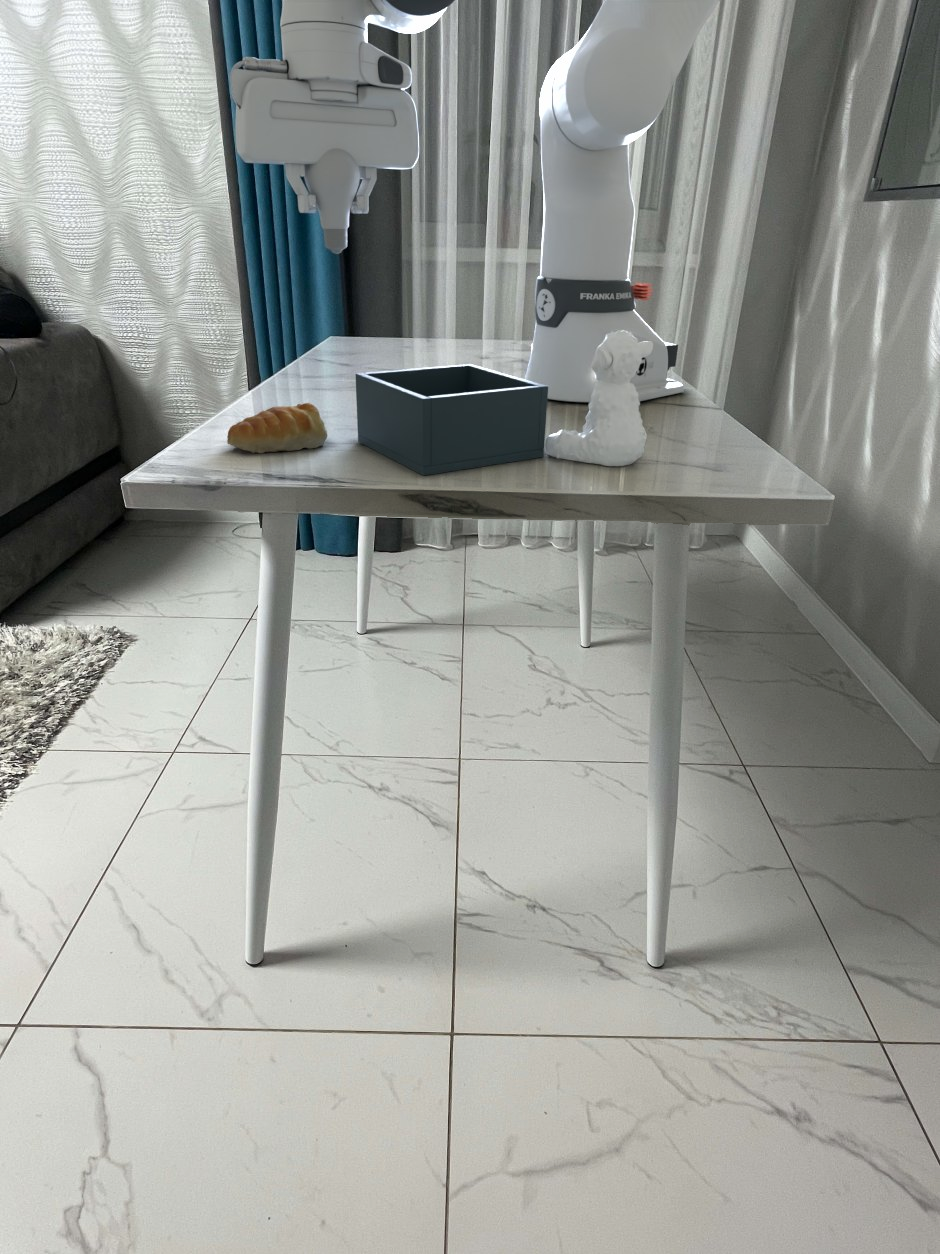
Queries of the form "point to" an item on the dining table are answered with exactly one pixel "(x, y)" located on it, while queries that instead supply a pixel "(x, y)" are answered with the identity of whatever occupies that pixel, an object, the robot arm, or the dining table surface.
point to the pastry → (280, 430)
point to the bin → (451, 417)
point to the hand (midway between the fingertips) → (334, 213)
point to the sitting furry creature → (609, 408)
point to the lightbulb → (333, 194)
